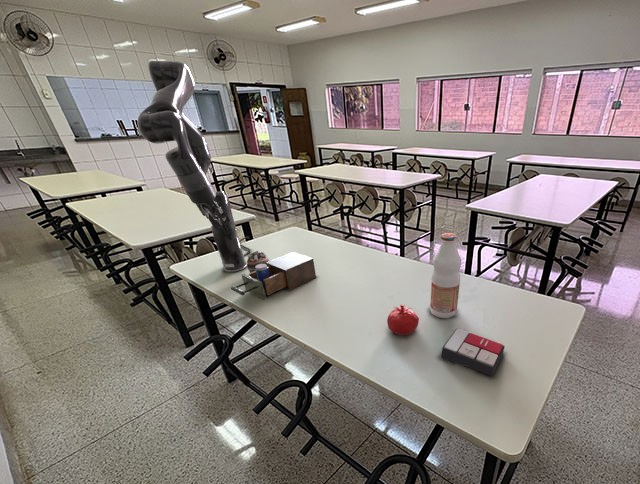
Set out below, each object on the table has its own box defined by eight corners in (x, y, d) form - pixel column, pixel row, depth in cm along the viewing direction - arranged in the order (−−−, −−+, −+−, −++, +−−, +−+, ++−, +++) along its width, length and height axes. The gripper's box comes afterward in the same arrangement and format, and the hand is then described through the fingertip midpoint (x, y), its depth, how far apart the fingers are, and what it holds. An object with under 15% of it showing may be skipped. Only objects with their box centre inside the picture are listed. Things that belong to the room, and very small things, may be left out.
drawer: (248, 306, 114) (243, 289, 110) (230, 297, 120) (225, 281, 116) (291, 286, 127) (288, 270, 123) (273, 278, 133) (270, 263, 129)
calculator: (494, 366, 83) (442, 345, 89) (491, 378, 85) (440, 357, 91) (505, 343, 91) (456, 326, 97) (502, 354, 93) (454, 337, 99)
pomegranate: (408, 342, 97) (408, 317, 92) (381, 332, 102) (380, 308, 97) (423, 326, 104) (424, 302, 99) (398, 317, 109) (397, 294, 104)
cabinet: (289, 290, 126) (285, 270, 121) (270, 281, 132) (265, 262, 128) (316, 277, 135) (313, 258, 131) (296, 269, 142) (293, 251, 137)
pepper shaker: (259, 286, 125) (253, 265, 120) (270, 283, 127) (265, 262, 122) (261, 290, 121) (256, 269, 117) (273, 287, 123) (268, 266, 119)
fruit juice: (439, 321, 107) (444, 242, 92) (425, 307, 114) (428, 232, 100) (462, 314, 110) (471, 237, 96) (447, 301, 118) (453, 228, 103)
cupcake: (244, 277, 136) (238, 255, 130) (260, 268, 143) (255, 247, 138) (262, 281, 133) (256, 259, 127) (277, 271, 140) (273, 250, 135)
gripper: (220, 184, 97) (244, 229, 109) (195, 174, 103) (220, 218, 115) (198, 195, 93) (226, 241, 105) (173, 185, 99) (202, 229, 111)
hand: (223, 229), depth 110 cm, fingers open, 6 cm apart
